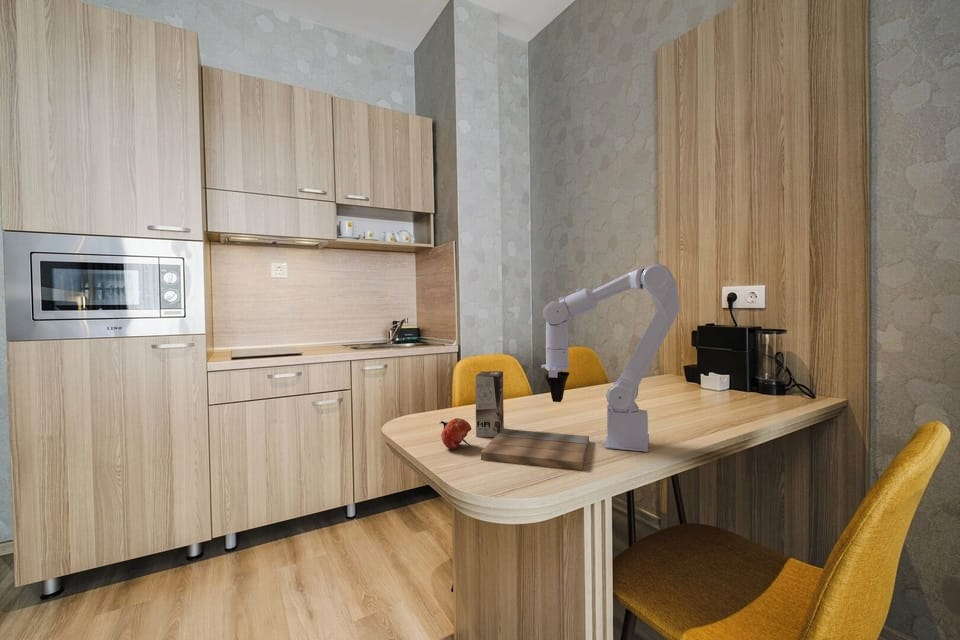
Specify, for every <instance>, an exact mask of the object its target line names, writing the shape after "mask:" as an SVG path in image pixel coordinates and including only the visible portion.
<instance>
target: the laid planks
mask: <svg viewBox="0 0 960 640" xmlns="http://www.w3.org/2000/svg"><path fill="white" fill-rule="evenodd" d="M587 451H588V448H587V444H580V443H569V442H557V441H546V440H535V439H524V438H512V437H501V436H496V437H495V438H494V437H493V438H492V440H491V441H489V443H488V444H487V445H486V446H485V447H484V448H483V449H482V450H481V451H480V460H484V461H493V462H499V463H500V462H502V463H511V464H517V465H518V464H520V465H530V466H539V467H546V468H547V467H548V468H555V469H556V468H557V469H564V470H565V469H566V470H574V471H583V468H584V467H583V466H584V463H585V460H586V456H587Z"/></svg>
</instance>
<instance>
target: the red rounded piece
mask: <svg viewBox="0 0 960 640" xmlns="http://www.w3.org/2000/svg"><path fill="white" fill-rule="evenodd" d="M439 424H440V425H441V424H442V425H443V430H442V431H441V434H440V438H441V442H442V443H443V445H444V446H445V447H446V448H447V449H450V450H453V451H455V450H457V449H458V447H460V445H461V443H462V442H463V443H465V444H466V445H468V446H469V447H470V448H471V449H474V447H473V446H472V445H471V444H470V443H468V442H467V441H466V439H465V438H466V437H467V435H468V433H469V432H470V431H472V427H471V426H472V425H470V423H469V422H468V420H467V421H466V420H465V419H463V418H459V417H457V418H456V417H455V418H453V419H451V420H450V421H448V422H446V421H443V420H441V421H440V422H439Z"/></svg>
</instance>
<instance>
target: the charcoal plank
mask: <svg viewBox="0 0 960 640" xmlns="http://www.w3.org/2000/svg"><path fill="white" fill-rule="evenodd" d="M497 436H501V437H512V438H524V439H535V440H546V441H557V442H569V443H580V444H587V449H588V448H589V447H588V446H589V443H590V436H589V435H578V434H570V433H569V434H567V433H555V432H545V431H531V430H521V429H520V430H519V429H506V428H503V430H502V431H501V432H500V433H499V434H498V435H497Z"/></svg>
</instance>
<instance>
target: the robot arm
mask: <svg viewBox="0 0 960 640" xmlns="http://www.w3.org/2000/svg"><path fill="white" fill-rule="evenodd" d="M644 288H645V290H646V291H647V292H648V293H649V294H650V295H651V296H652V297H651V298H652V300H653V302H654V305H655V307H656V311H655V313H654V314H653V316H652V318H651V319H650V322H649V323H648V325H647V327H646V329H645V331H644V333H643V334H642V336H641V338H640V340H639V342H638V344H637V346H636V347H635V349H634V351H633V353H632V355H631V357H630V358H629V360H628V362H627V364H626V366H625V367H624V370H623V372H622V373H621V375H619V376H620V377H619V378H618V379H616V380H615V381H614V383H613V384H612V385H611V386H609V388H608V389H607V392H606V401H607V407H606V409H607V410H606V417H607V421H606V422H607V423H606V424H607V427H606V428H607V429H606V431H607V435H606V438H605V443H604V444H605V445H604V448H606V449H614V450H624V451H626V450H627V451H636V452H645V453H647V452H648V451H649V442H650V433H649V421H648V420H649V418H648V416H649V415H648V410H647V409H640V407H639V406H638V404H637V403H636V399H637V398H638V396H639V386H640V384H641V382H642V380H643V378H644V376H645V374H646V373H647V370H648V369H649V367H650V365H651V364H652V362H653V360H654V358H655V356H656V354H657V353H658V351H659V349H660V347H661V346H662V344H663V342H664V340H665V338H666V337H667V335H668V334H669V331H670V330H671V328H672V325H673V324H674V322H675V320H676V318H677V316H678V315H679V313H680V311H681V304H680V297H679V290H678V285H677V281H676V279H675V277H674V276H673V274H672V271H671V270H670V269H669V268H668V267H667V266H666V265H664V264H662V263H653V264H650V265H648V266H647V267H646V268H645V267H641V268H638V269H636V270H632V271H630V272H627V273H626V274H623V275H621V276H618V278H615V279H614V280H611V281H610V282H609V281H608V282H607V283H605V284H603V285H601V286H599V287H596V288H595V289H590V288H588V287H584V288H582V287H579V288H576V289H575V292H574V293H571V294H569V295H567V296H560V297H559V298H558V301H554V300H553V301H550V302H549V303H547V304H546V305H545V306H544V308H543V309H542V317H543V319H544V321H545V364H541V367H540V368H541V369H544V370H547V371H548V373H545V374H544V377H545V380H546V382H547V384H548V386H549V392H550V396H551V400H552V402H553V403H561V402H562V401H563V398H564V394H565V388H566V385H567V384H566V383H567V381H568V377H569V376H570V372H569V371H568V370H569V369H570V365H569V364H570V363H569V328H568V327H569V325H568V324H569V323H568V322H569V320H570V319H571V320H572V319H574V318H575V319H576V318H578V317H579V316H582V315H584V314H587V313H588V312H591V311H594V310H596V309H597V307H598V303H599V302H601V301H603V300H606V299H609V298H610V297H614V296H616V295H618V294H621V293H625V292H626V291H628V290H640V291H641V290H644Z"/></svg>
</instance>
